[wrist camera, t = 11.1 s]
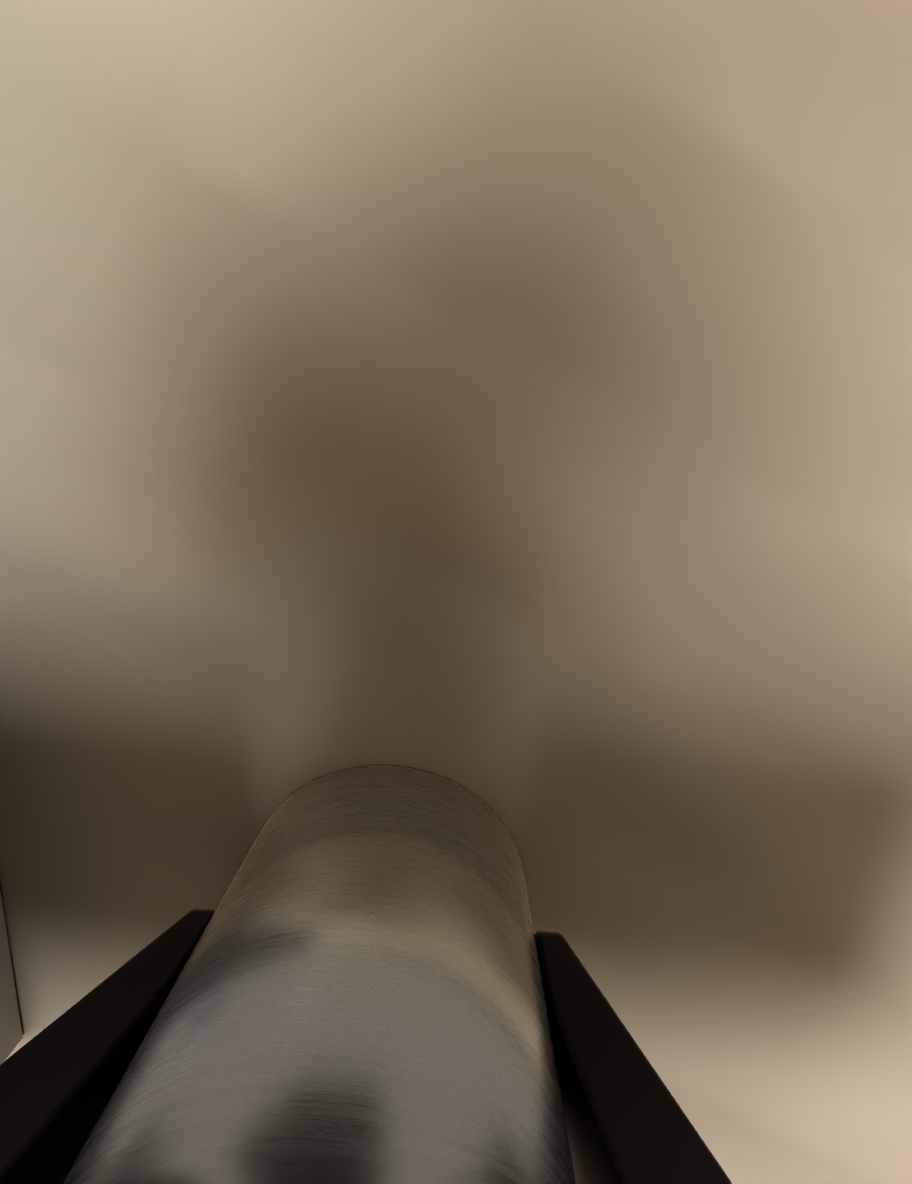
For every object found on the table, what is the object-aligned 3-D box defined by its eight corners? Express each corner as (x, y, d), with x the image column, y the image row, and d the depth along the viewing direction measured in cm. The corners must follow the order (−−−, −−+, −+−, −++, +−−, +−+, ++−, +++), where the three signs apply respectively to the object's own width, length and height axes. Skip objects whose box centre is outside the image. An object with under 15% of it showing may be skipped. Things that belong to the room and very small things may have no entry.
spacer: (510, 1005, 10) (565, 1559, 5) (250, 989, 10) (32, 1529, 5) (539, 775, 9) (649, 1181, 4) (246, 755, 8) (-51, 1141, 4)
